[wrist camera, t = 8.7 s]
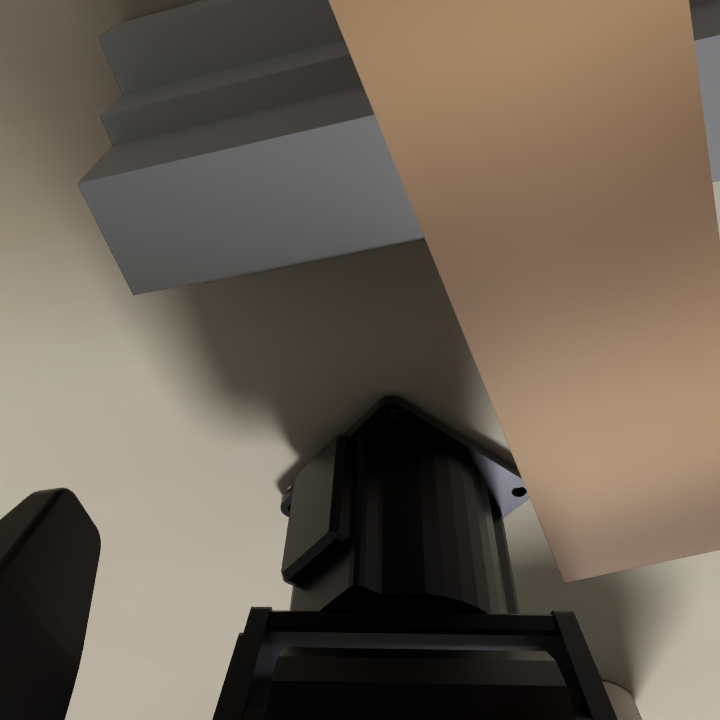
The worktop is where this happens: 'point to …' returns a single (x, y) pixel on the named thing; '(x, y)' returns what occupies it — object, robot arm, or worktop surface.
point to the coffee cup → (622, 702)
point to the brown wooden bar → (569, 248)
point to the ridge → (261, 143)
